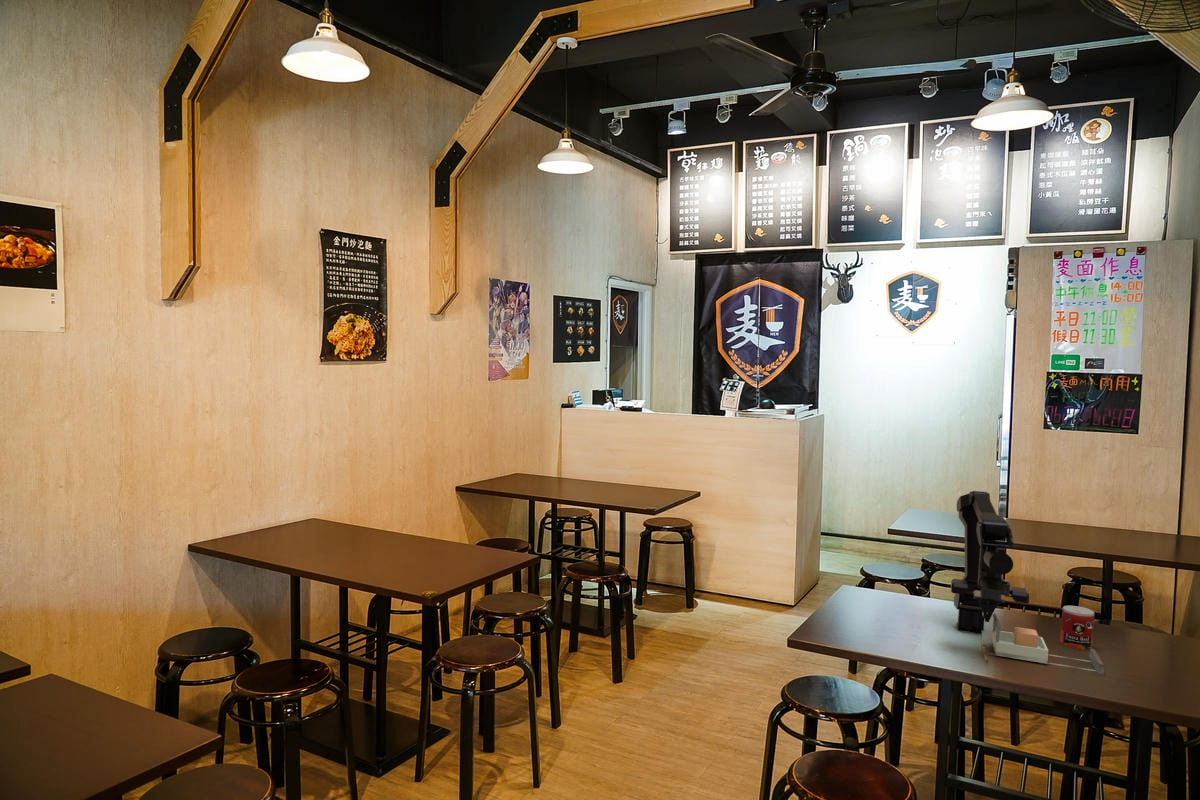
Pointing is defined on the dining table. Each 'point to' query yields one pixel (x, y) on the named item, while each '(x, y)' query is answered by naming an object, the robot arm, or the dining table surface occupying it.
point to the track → (1092, 656)
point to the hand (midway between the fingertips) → (986, 621)
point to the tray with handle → (1016, 646)
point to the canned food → (1077, 627)
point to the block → (1025, 637)
